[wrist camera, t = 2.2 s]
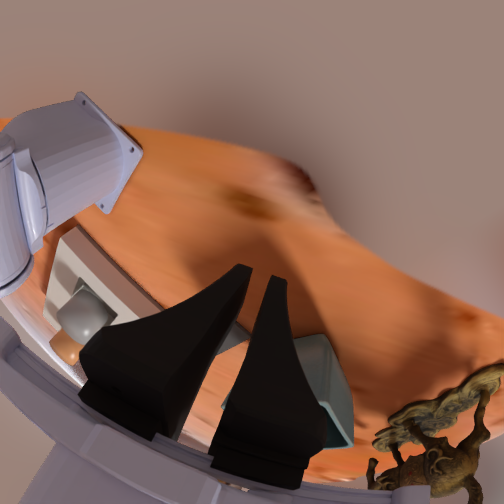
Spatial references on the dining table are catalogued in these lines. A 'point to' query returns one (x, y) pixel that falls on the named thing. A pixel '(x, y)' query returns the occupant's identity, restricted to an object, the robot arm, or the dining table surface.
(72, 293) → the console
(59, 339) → the tan button
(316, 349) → the flower pot
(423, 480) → the figurine
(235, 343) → the mat
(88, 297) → the grey button
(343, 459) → the dining table surface
